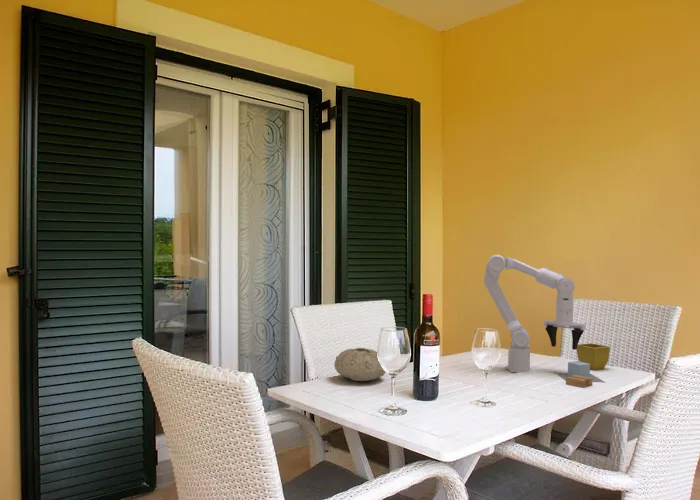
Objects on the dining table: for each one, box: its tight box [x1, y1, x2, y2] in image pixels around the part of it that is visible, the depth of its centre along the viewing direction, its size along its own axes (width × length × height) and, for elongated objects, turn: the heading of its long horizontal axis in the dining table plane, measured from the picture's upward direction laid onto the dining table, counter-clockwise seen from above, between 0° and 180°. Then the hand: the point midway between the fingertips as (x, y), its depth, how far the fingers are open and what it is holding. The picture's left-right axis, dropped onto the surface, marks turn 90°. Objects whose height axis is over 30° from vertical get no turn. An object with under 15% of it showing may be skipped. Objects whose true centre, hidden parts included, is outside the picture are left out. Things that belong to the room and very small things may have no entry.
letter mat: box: [554, 372, 607, 384], centre depth 186 cm, size 13×13×1 cm
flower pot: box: [576, 342, 611, 371], centre depth 202 cm, size 9×9×9 cm
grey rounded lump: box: [333, 347, 387, 382], centre depth 179 cm, size 18×18×10 cm
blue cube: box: [567, 360, 591, 378], centre depth 186 cm, size 5×5×5 cm
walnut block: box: [565, 375, 593, 389], centre depth 175 cm, size 6×6×3 cm
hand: (564, 347), depth 193 cm, fingers open, 7 cm apart
